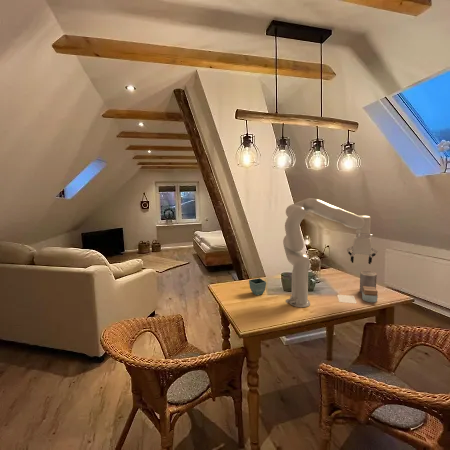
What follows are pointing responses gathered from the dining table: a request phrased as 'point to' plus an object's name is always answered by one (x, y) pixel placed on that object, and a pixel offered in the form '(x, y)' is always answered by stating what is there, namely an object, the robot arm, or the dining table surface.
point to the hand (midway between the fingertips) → (360, 262)
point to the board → (370, 291)
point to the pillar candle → (367, 279)
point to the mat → (346, 299)
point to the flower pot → (257, 286)
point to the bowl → (369, 298)
